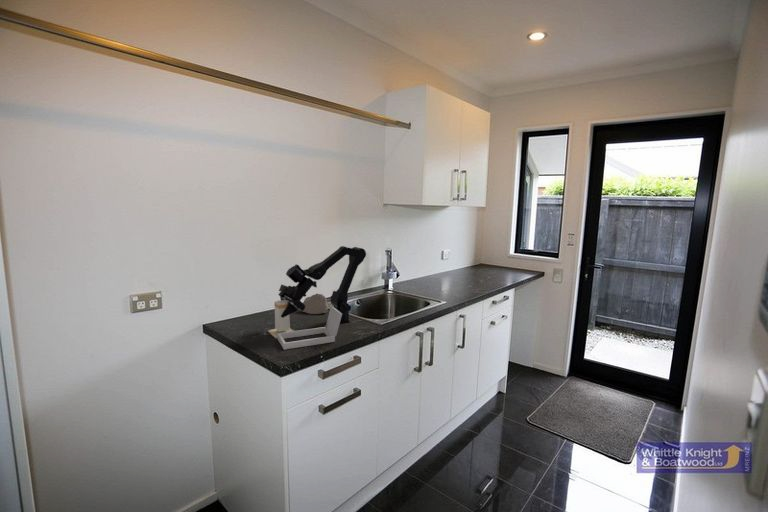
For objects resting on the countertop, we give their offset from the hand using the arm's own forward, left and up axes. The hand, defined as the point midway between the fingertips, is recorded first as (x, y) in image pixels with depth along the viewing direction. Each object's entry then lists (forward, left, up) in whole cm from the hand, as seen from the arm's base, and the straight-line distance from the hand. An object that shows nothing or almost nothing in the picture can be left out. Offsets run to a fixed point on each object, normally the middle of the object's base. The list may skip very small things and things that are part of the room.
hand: (279, 315), depth 167 cm
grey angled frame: (-10, +13, -8) cm, 19 cm away
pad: (-1, 0, -8) cm, 8 cm away
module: (-1, 0, -7) cm, 7 cm away
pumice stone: (-24, -25, -9) cm, 36 cm away
